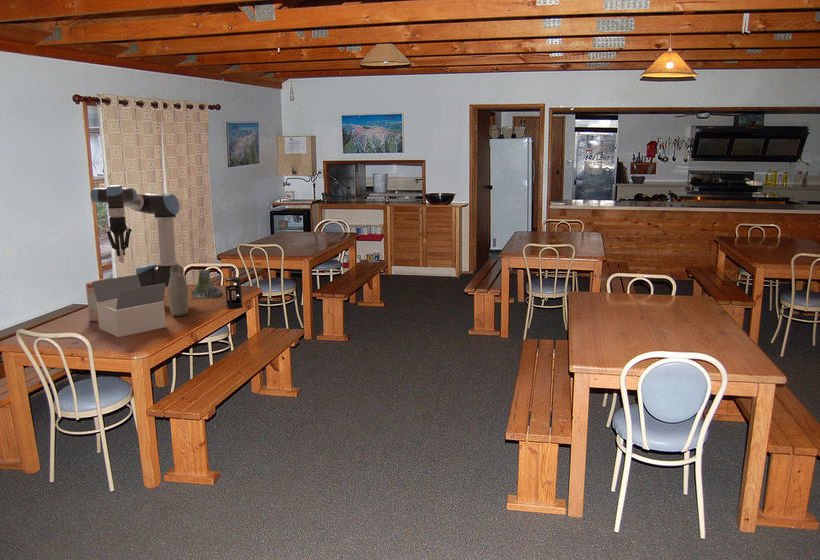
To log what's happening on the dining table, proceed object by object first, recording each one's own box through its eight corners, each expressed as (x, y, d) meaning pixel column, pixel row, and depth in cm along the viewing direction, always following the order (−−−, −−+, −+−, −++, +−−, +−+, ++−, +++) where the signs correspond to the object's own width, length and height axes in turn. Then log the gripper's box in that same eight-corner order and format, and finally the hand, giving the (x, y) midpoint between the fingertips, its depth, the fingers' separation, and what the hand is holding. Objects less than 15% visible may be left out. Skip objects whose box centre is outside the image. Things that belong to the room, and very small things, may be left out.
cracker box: (98, 322, 369) (94, 283, 364) (88, 321, 370) (84, 283, 366) (115, 315, 382) (111, 278, 378) (105, 314, 383) (101, 278, 379)
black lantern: (238, 309, 392) (235, 270, 387) (222, 309, 393) (220, 269, 389) (246, 304, 403) (244, 266, 398) (231, 304, 405) (229, 265, 400)
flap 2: (165, 282, 350) (165, 283, 349) (162, 300, 355) (163, 301, 354) (118, 290, 333) (118, 291, 332) (116, 309, 338) (116, 309, 337)
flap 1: (92, 281, 354) (91, 281, 354) (97, 301, 353) (97, 302, 354) (137, 274, 371) (137, 274, 371) (142, 293, 370) (142, 294, 370)
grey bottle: (169, 318, 375) (164, 267, 369) (172, 313, 385) (168, 264, 379) (187, 317, 376) (183, 267, 371) (190, 312, 386) (186, 263, 380)
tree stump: (192, 300, 417) (188, 271, 417) (191, 301, 436) (187, 273, 436) (223, 296, 423) (219, 267, 423) (221, 297, 442) (217, 269, 442)
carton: (145, 319, 373) (143, 294, 371) (166, 326, 358) (163, 301, 355) (99, 328, 356) (96, 303, 353) (118, 337, 340) (115, 310, 337)
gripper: (107, 218, 342) (112, 264, 347) (132, 215, 351) (137, 261, 356) (101, 216, 347) (105, 262, 352) (126, 214, 356) (130, 259, 361)
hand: (121, 262), depth 354 cm, fingers closed
